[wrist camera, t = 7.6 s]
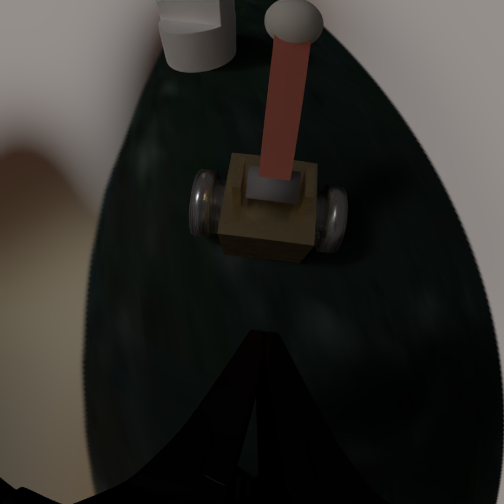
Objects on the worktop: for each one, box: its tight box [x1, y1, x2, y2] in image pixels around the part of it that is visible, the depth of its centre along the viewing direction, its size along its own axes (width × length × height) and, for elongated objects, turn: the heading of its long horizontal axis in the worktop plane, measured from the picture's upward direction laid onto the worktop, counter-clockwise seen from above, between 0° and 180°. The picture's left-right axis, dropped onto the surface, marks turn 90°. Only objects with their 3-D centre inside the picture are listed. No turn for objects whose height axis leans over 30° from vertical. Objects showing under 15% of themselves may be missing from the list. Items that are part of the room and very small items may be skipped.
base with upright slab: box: [156, 0, 236, 73], centre depth 23 cm, size 9×9×12 cm
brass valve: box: [189, 153, 348, 263], centre depth 19 cm, size 6×10×8 cm, turn 83°
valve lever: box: [246, 0, 323, 204], centre depth 13 cm, size 3×3×12 cm
